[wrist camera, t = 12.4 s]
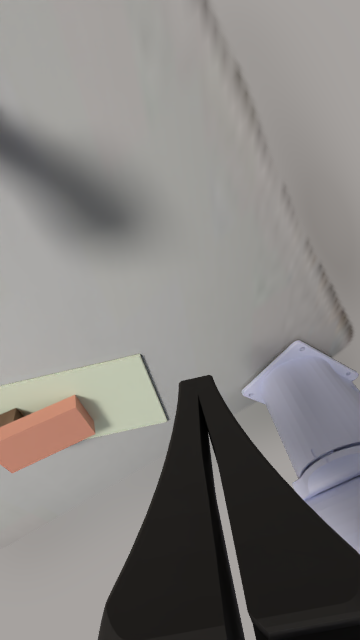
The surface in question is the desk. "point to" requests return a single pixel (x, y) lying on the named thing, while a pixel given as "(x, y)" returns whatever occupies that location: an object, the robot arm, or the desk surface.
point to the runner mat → (94, 394)
